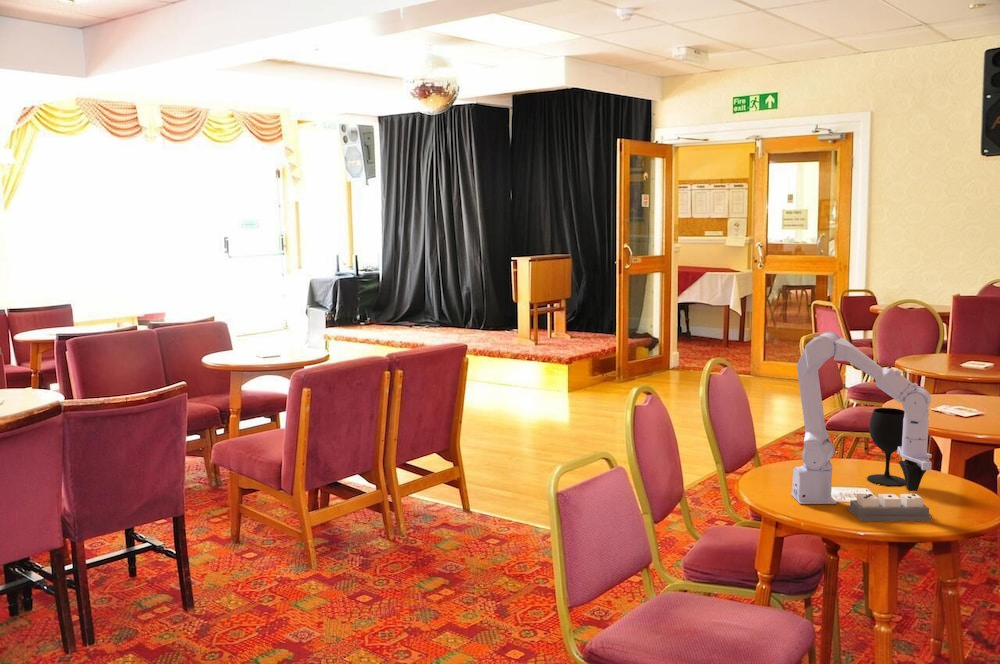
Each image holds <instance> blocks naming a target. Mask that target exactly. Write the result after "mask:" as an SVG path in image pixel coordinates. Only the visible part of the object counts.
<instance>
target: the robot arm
mask: <svg viewBox="0 0 1000 664" xmlns="http://www.w3.org/2000/svg"><path fill="white" fill-rule="evenodd" d="M832 357H834V358H833V361H841V362H842V361H844V362H848V363H850V364H851V365H853V366H854V367H856V368H858V370H860V371H862V372H864V373H865V374H867V375H868V376H870V377H872V378H873V379H874V380H875V385H876V387H877V388H878V389H880V390H881V391H882V392H884V393H885V394H887V395H888V396H889V397H891V398H892V399H894V400H895V401H897V402H898V403H901V405H902V409H903V410H904V411H905V413H904V418H903V436H902V447H898V450H897V455H899V456H900V457H901V458H902V459H904V460H899V461H898V464H899V465H900V468H901V470H902V473H903V477H904V479H905V483H906V485H905V486H906V490H907V491H908V492H918V490H919V487H920V484H921V481H922V479H923V476H924V475H925V473H926V472H927V471H932V464H933V463H932V461H930V459H931V458H932V456H933V455H932V454H931V453H928V445H929V444H928V442H929V441H928V440H929V427H930V426H929V425H930V420H929V416H930V413H929V412H930V410H929V407H930V405H931V403H932V396H931V394H930V392H929V391H928V389H926V388H925V387H924V386H919V384H918V383H916V382H914V383H913V382H912V381H910V380H909V379H908V378H906V377H904V376H903V375H902V371H901V370H899V369H898V368H897V369H896V370H895V369H894V368H892V367H891V368H890V367H889V368H883V367H882V366H881V365H879V364H878V363H877V362H875V361H874V360H873V359H872V358H870V357H869V356H867V354H865V353H864V352H862V351H861V350H860V349H858V348H857V347H856V346H855V345H853V344H852V343H851V342H850V341H848V340H847V339H846V338H843V337H840V336H839V335H838V333H835V332H833V331H825V332H823V333H821V334H819V335H817V336H815V337H814V338H812V339H811V340H810V341H808V343H807V344H805V347H804V350H803V351H802V354H801V356H800V358H799V359H798V362H797V365H796V370H797V377H798V378H797V379H798V385H799V386H798V387H799V393H800V401H801V407H802V408H801V409H802V415H803V421H804V432H805V433H804V439H803V450H802V453H801V459H802V462H803V465H800V466H795V467H794V468H793V471H792V483H791V484H792V486H791V487H792V488H791V497H793V498H794V499H795V500H796V501H797V502H798V503H799V504H800V505H836V504H837V501H836V500H835V499H834V498H833V497H832V484H833V464H832V462H831V460H832V459H833V457H834V456H835V451H836V450H835V446H834V445H833V443H832V442H831V439H830V434H829V432H828V431H827V429H826V422H825V421H826V420H825V414H824V413H825V412H824V407H823V400H822V399H823V398H822V391H821V385H820V383H821V382H820V376H819V370H820V368H821V367H822V366H823V365H824V364H825V362H827V360H829V359H831V358H832Z"/></svg>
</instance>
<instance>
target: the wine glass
mask: <svg viewBox="0 0 1000 664" xmlns="http://www.w3.org/2000/svg"><path fill="white" fill-rule="evenodd" d="M904 413H905V410H904V409H900V408H892V407H878V408H874V409H873V411H872V413H871V416H870V420H869V427H868V428H869V435H870V438H871V440H872V442H873V443H874V444H875V445H876V447H877V448H878V449H880V450H881V451H882V452H883V453H884V454H885V470H884V473H883V474H881V473H880V474H878V473H877V474H870V475H868V476H867V477H866V480H867V481H868V482H869V481H870V482H869V483H871V482H872V483H871V484H874V483H876V484H875V485H877V484H880V485H879V486H882V485H886V486H885V487H890V486H898V487H903V486H906V483H905V478H902V477H900V476H897V475H893V474H890V463H891V458H892V457H891V456H892V454H893V453H895V452H896V451H898V447H902V436H903V418H904Z"/></svg>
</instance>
